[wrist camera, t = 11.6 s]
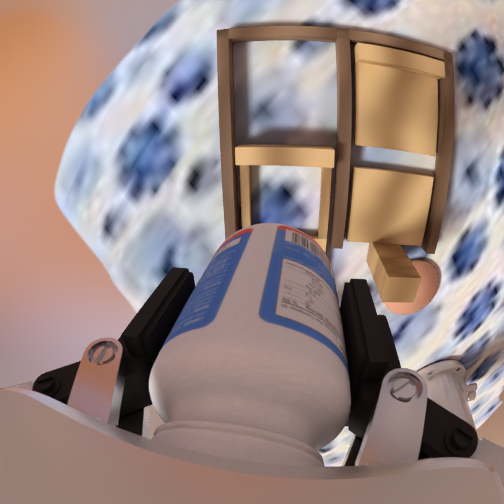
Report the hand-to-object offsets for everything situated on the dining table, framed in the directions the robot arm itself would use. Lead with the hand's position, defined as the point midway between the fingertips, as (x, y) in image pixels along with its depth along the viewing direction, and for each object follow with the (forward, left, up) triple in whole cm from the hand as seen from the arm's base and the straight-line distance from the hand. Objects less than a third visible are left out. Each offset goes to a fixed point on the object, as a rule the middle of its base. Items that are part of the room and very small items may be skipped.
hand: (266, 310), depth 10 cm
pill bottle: (0, 0, -3) cm, 3 cm away
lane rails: (-5, -5, -17) cm, 18 cm away
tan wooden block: (-10, +2, -17) cm, 20 cm away
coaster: (-14, +10, -17) cm, 24 cm away
